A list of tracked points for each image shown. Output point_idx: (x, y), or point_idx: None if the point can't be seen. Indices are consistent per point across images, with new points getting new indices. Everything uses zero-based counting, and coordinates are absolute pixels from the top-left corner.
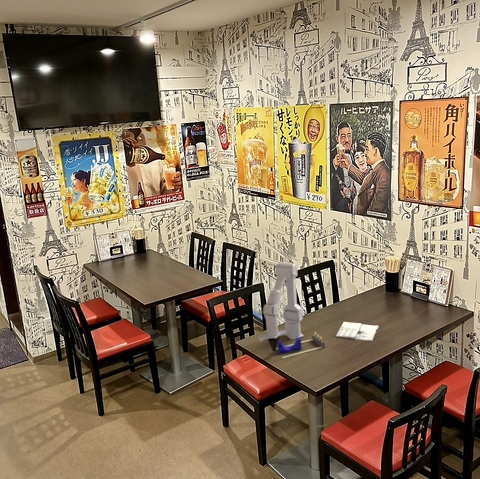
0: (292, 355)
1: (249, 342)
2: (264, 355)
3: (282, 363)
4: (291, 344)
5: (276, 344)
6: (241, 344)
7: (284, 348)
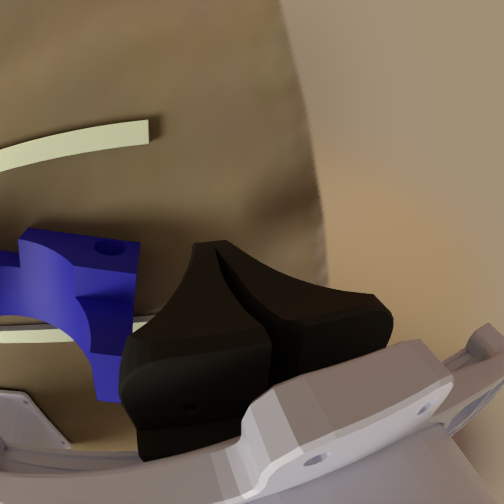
0: (26, 142)
1: None
2: (285, 267)
3: (197, 27)
4: (15, 341)
5: (194, 285)
6: None
7: (69, 268)
